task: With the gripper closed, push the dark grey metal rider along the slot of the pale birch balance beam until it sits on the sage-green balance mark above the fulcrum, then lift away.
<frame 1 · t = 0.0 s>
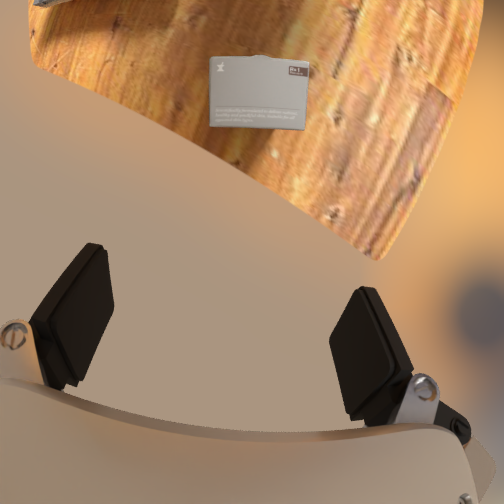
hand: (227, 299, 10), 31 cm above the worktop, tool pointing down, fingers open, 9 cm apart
skincare box: (252, 96, 33), on the worktop
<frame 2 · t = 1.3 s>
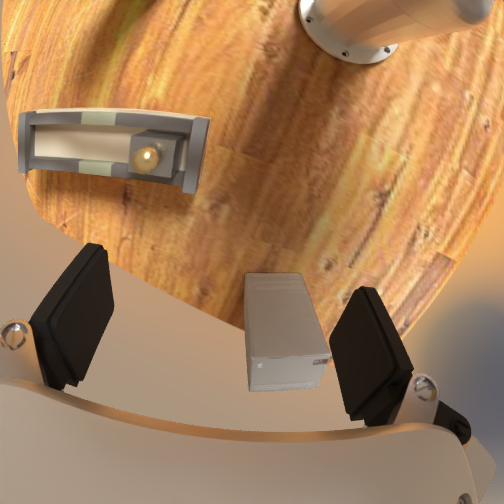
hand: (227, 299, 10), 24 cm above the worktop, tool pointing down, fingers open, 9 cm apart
rider: (154, 154, 22), point 9 cm above the worktop, slide at 7.0 cm
skincare box: (273, 286, 41), on the worktop
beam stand: (121, 134, 28), on the worktop
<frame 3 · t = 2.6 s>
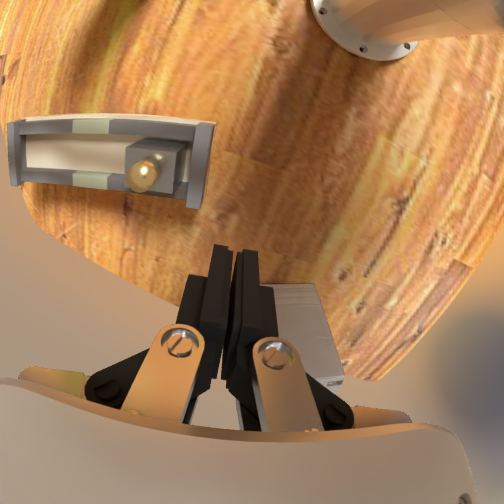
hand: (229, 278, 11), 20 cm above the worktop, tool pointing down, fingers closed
rider: (152, 166, 20), point 9 cm above the worktop, slide at 7.0 cm
skincare box: (285, 297, 38), on the worktop
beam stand: (119, 139, 26), on the worktop
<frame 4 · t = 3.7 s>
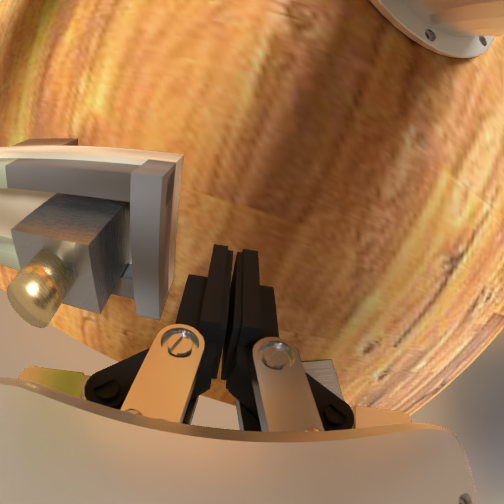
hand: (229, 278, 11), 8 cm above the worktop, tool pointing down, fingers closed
rider: (64, 258, 9), point 9 cm above the worktop, slide at 7.0 cm
skincare box: (293, 373, 28), on the worktop
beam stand: (52, 177, 16), on the worktop
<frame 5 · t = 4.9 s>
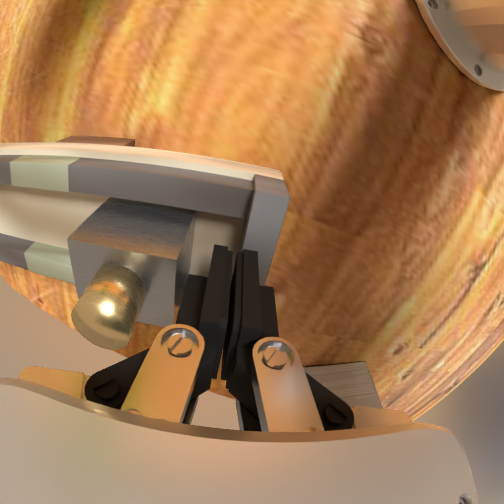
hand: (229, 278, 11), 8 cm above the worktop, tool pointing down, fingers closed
rider: (129, 270, 10), point 9 cm above the worktop, slide at 5.7 cm, touching gripper
skincare box: (327, 375, 29), on the worktop
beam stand: (99, 180, 16), on the worktop
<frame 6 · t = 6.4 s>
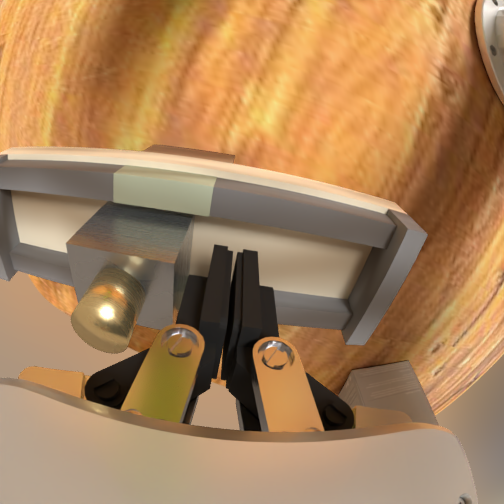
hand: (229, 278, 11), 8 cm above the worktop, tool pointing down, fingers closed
rider: (128, 274, 10), point 9 cm above the worktop, slide at -0.7 cm, touching gripper
skincare box: (375, 375, 29), on the worktop
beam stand: (187, 195, 17), on the worktop
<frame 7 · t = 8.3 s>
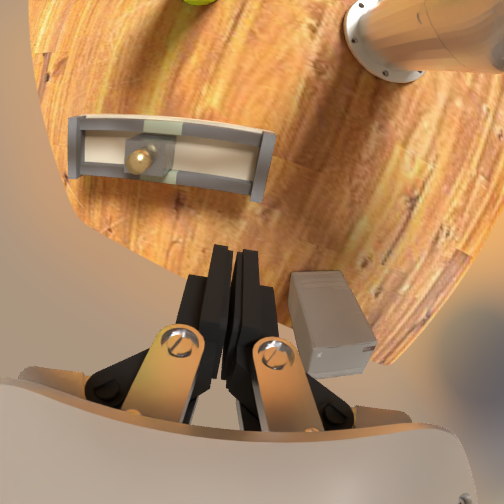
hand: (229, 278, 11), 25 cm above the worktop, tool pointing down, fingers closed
rider: (147, 155, 24), point 9 cm above the worktop, slide at -0.7 cm
skincare box: (315, 283, 43), on the worktop
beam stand: (175, 141, 31), on the worktop
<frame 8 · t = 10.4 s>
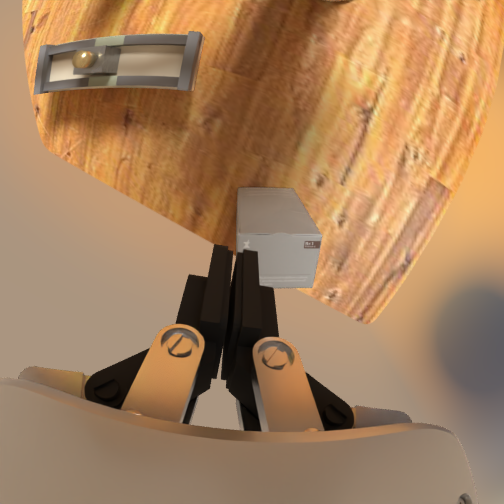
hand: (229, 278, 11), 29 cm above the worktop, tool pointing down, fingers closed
rider: (93, 60, 21), point 9 cm above the worktop, slide at -0.7 cm
skincare box: (266, 204, 41), on the worktop
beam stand: (127, 64, 29), on the worktop
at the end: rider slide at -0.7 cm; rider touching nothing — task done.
